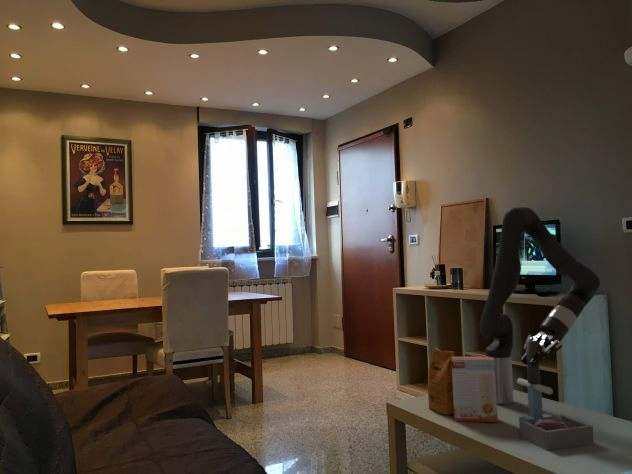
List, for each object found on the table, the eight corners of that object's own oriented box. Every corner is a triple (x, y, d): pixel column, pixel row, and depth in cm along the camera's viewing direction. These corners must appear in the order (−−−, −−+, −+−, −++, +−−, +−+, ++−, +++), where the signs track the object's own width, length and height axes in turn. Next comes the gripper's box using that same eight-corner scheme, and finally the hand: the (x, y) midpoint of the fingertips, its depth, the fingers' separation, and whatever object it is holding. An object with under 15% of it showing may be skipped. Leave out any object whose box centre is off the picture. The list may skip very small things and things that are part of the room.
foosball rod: (508, 424, 161) (504, 339, 163) (534, 421, 164) (530, 337, 166) (538, 438, 148) (533, 345, 149) (566, 435, 150) (561, 343, 152)
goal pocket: (520, 437, 151) (519, 420, 151) (564, 431, 155) (563, 414, 155) (547, 450, 140) (546, 432, 140) (593, 443, 144) (592, 426, 144)
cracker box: (496, 418, 170) (493, 356, 171) (498, 423, 164) (495, 359, 166) (454, 415, 174) (451, 355, 175) (454, 421, 168) (451, 358, 169)
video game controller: (534, 441, 151) (532, 423, 149) (535, 430, 155) (533, 412, 152) (571, 446, 147) (569, 427, 144) (570, 434, 150) (569, 416, 148)
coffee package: (446, 404, 188) (443, 345, 190) (467, 413, 177) (465, 350, 178) (424, 407, 185) (421, 347, 186) (444, 417, 173) (442, 353, 174)
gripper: (535, 313, 167) (505, 352, 163) (566, 317, 153) (534, 360, 149) (550, 328, 168) (520, 367, 164) (582, 333, 154) (550, 376, 150)
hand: (527, 363), depth 157 cm, fingers closed on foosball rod, 3 cm apart
